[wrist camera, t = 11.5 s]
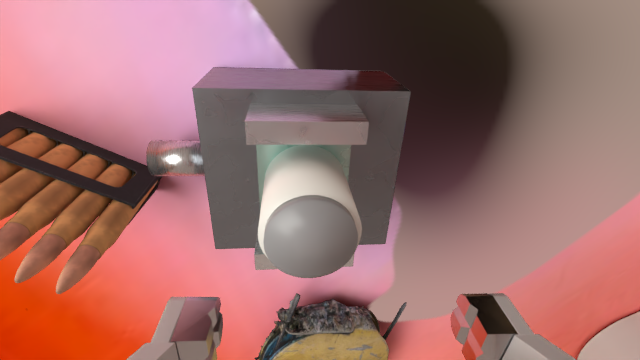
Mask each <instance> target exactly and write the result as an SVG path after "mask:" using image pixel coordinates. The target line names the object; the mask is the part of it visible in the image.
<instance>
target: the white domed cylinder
mask: <svg viewBox="0 0 640 360" xmlns="http://www.w3.org/2000/svg"><path fill="white" fill-rule="evenodd" d="M361 234H362V225H361V220H360V217H359V214H358V211H357V208H356V205H355V202H354V200H353V197H352V194H351V191H350V188H349V185H348V182H347V179H346V177H345V174H344V171H343V168H342V166H341V164H340V162H339V161H338V159H337V158H336V157H335V156H334V155H333V154H332V153H330V152H329V151H327V150H325V149H323V148H321V147H318V146H313V145H298V146H293V147H290V148H288V149H285V150H284V151H282V152H280V153H279V154H278V155H277V156H275V158H274V159H273V160H272V161H271V162H270V164H269V166H268V168H267V170H266V173H265V179H264V187H263V195H262V202H261V210H260V218H259V226H258V241H259V244H260V247H261V249H262V251H263V253H264V254H265V256H266V257H267V258H268V259H269V260H270V262H271V263H272V264H273V265H274V266H275V267H276V268H278V269H279V270H281V271H282V272H284V273H286V274H289V275H292V276H295V277H301V278H316V277H321V276H325V275H328V274H330V273H333V272H335V271H337V270H338V269H340V268H341V267H343V266H344V265H345V264H346V263H347V262H348V261H349V260H350V259H351V257H352V256H353V254H354V252H355V250H356V248H357V246H358V244H359V242H360V239H361Z"/></svg>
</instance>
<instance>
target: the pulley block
mask: <svg viewBox="0 0 640 360" xmlns="http://www.w3.org/2000/svg"><path fill="white" fill-rule="evenodd" d="M299 299H300V295H299V294H296V296H295V297H294V299H293V300H292V301H290V308H289V309H286V310H285V309H284V308H282V309H280V310H279V311H278V312H277V313H278V318H279V319H280V320H281V321H275V324H276V326H275V328H274V329H273V330H272V332H271V333H270V335H269V336H268V338H266V341H265V343H264V345H263V346H262V348H261V351H260V353H259V356H258V357H257V358H255V359H256V360H257V359H258V360H388V354H389V348H388V345H387V343H386V341H385V340H386V338H387V337H388V335H389V333H390V332H391V330H392V328H393V326H394V325H395V323H396V322H397V320H398V318H399V317H400V315H401V313H402V311H403V310H404V308H405V306H406V302H405V303H404V304H403V305H402V306H401V308H400V309H399V312H398V313H397V315H396V317H395V319H394V320H393V322H392V324H391V325H390V326H389V328H388V330H387V331H386V333H385V335H384V336H383V337H382V336H381V334H380V329H379V323H378V321H377V319H376V317H375V315H374V314H373V313H372V312H371V311H370V310H368V309H365V308H364V306H362V307H361V308H359V307H358V306H356V307H347V306H346V305H344V304H342V303H340V302H337V301H335V300H333V299H331V300H330V301H324V302H322V303H319V304H311V305H307V306H301V307H297V304H298V302H299Z"/></svg>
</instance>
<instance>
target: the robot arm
mask: <svg viewBox="0 0 640 360" xmlns="http://www.w3.org/2000/svg"><path fill="white" fill-rule="evenodd" d="M456 302H457V304H458V307H457V308H456V309H454V310H453V312H452V315H451V327H452V331H453V333H454V336H455V338H456V339H457V340H458V341H459V342H460V343H461V344H463V348H462V353H463V355H464V357H465V359H466V360H576V359H575V358H573V357H572V356H570V355H569V354H567V353H566V352H564V351H563V350H561V349H560V348H558V347H557V346H555V345H554V344H552V343H551V342H549V341H548V340H546V339H545V338H543V337H542V336H541V335H539V334H534V333H533V332H532V330H531V329H530V327H529V326H528V325H527V323H526V322H525V320H524V319H523V318H522V316H521V315H520V313H519V312H518V311H517V309H516V308H515V306H514V305H513V304H512V302H511V301H510V299H509V298H508V297H507V296H506V295H505V294H503V293H499V294H487V293H486V294H461V295H459V296H458V299H457V301H456ZM220 306H221V302H220V298H219V297H171V298H170V299H169V301H168V302H167V305H166V307H165V309H164V312H163V314H162V317H161V319H160V321H159V324H158V326H157V329H156V331H155V333H154V336H153V338H152V341H151V343H145V344H144V345H143V346H142V347H140V348H139V349H138V350H137V351H136V352H135V353H133V354H132V355H131V356H130V357H129V358H128V359H126V360H217V354H216V348H217V347H218V346H219V345H220V341H221V336H222V328H223V318H222V314H221V313H220V312H219V311H220ZM577 360H640V311H639V312H637V313H635V314H633V315H630V316H628V317H626V318H623V319H621V320H619V321H617V322H615V323H613V324H612V325H610V326H608V327H607V328H605V329H604V330H602V331H601V332H599V333H598V334H597V335H595V336H594V337H593V338H592V339H591V340H590V341H589V342H588V343H587V344H586V345H585V346H584V348H583V349H582V350H581V352H580V354H579V356H578V358H577Z"/></svg>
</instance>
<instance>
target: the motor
mask: <svg viewBox="0 0 640 360" xmlns="http://www.w3.org/2000/svg"><path fill="white" fill-rule="evenodd" d="M192 89H193V96H194V103H195V110H196V117H197V124H198V131H199V138H200V141H151V142H150V143H149V145H148V148H147V166H148V169H149V172H150V173H151V175H152V176H205V180H206V186H207V193H208V200H209V207H210V214H211V221H212V228H213V235H214V242H215V249H232V248H255V254H254V255H255V269H256V270H264V269H278V268H276V267H275V266H274V265H273V264H272V263H271V262H270V260H269V259H268V258H267V257H266V256H265V254H264V253H263V251H262V249H261V247H260V244H259V241H258V226H259V218H260V210H261V202H262V195H263V187H264V179H265V173H266V170H267V168H268V166H269V164H270V162H271V161H272V160H273V159H274V158H275V156H277V155H278V154H279V153H280V152H282V151H284V150H285V149H288V148H290V147H293V146H298V145H313V146H318V147H321V148H323V149H325V150H327V151H329V152H330V153H332V154H333V155H334V156H335V157H336V158H337V159H338V161H339V162H340V164H341V166H342V168H343V171H344V174H345V177H346V179H347V182H348V185H349V188H350V191H351V194H352V197H353V200H354V202H355V205H356V208H357V211H358V214H359V217H360V220H361V225H362V234H361V239H360V242H359V244H358V245H366V244H385V243H386V237H387V231H388V225H389V219H390V213H391V207H392V201H393V195H394V189H395V183H396V177H397V171H398V165H399V159H400V153H401V147H402V141H403V135H404V129H405V123H406V117H407V111H408V105H409V100H410V94H411V92H410V90H408V89H407V88H406V87H404V86H403V85H402V84H400V83H399V82H397V81H396V80H395V79H393V78H392V77H391V76H390V75H388V74H387V73H386V72H384V71H359V70H314V69H313V70H312V69H269V68H224V67H213V68H212V69H211V70H210V71H209V72H208V73H207V74H206V75H205V76H204V77H203V78H202V79H201V80H200V81H199V82H198V83H197V84H196V85H195V86H194V87H193V88H192ZM353 260H354V254H353V256H352V257H351V259H350V260H349V261H348V262H347V263H346V264H345V265H344V266H343V267H347V266H353Z"/></svg>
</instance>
